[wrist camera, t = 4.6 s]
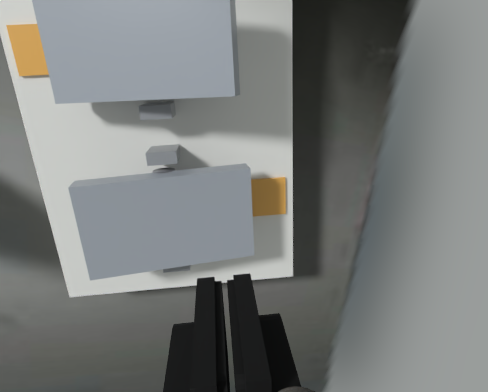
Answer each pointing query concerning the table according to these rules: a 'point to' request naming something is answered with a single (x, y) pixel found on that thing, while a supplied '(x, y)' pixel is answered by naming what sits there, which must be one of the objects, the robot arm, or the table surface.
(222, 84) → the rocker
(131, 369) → the table surface
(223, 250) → the rocker
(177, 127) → the switch unit
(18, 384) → the table surface
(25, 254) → the table surface
